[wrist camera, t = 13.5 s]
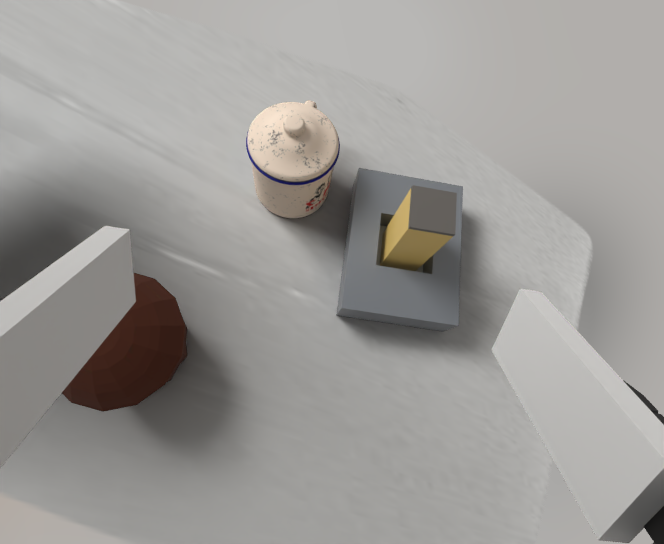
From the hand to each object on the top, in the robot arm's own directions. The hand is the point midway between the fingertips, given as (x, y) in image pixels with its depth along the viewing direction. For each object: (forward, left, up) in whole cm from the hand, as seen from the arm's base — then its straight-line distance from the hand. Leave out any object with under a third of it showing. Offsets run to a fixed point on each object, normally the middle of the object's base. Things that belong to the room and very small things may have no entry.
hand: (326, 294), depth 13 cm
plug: (+9, +13, -27) cm, 31 cm away
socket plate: (+9, +13, -28) cm, 32 cm away
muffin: (-16, -1, -28) cm, 33 cm away
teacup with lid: (-4, +21, -28) cm, 36 cm away
